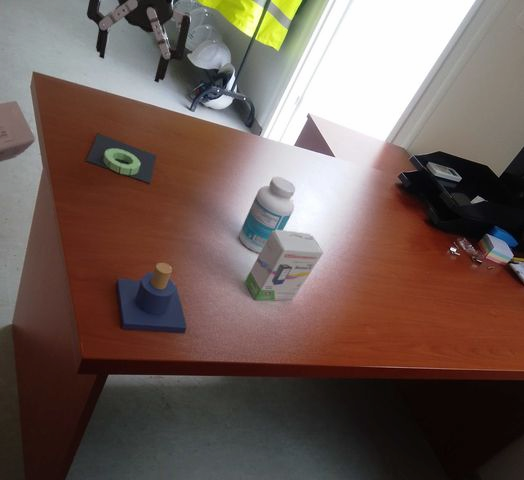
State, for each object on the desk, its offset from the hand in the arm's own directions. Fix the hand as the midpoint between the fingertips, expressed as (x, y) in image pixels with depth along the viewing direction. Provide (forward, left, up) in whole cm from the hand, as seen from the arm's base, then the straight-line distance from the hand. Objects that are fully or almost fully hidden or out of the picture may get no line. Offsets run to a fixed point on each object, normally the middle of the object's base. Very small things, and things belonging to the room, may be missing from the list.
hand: (130, 68), depth 72 cm
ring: (+2, +5, -19) cm, 20 cm away
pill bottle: (+30, -6, -19) cm, 36 cm away
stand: (+11, -32, -19) cm, 39 cm away
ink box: (+32, -20, -19) cm, 42 cm away
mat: (+2, +8, -19) cm, 21 cm away
